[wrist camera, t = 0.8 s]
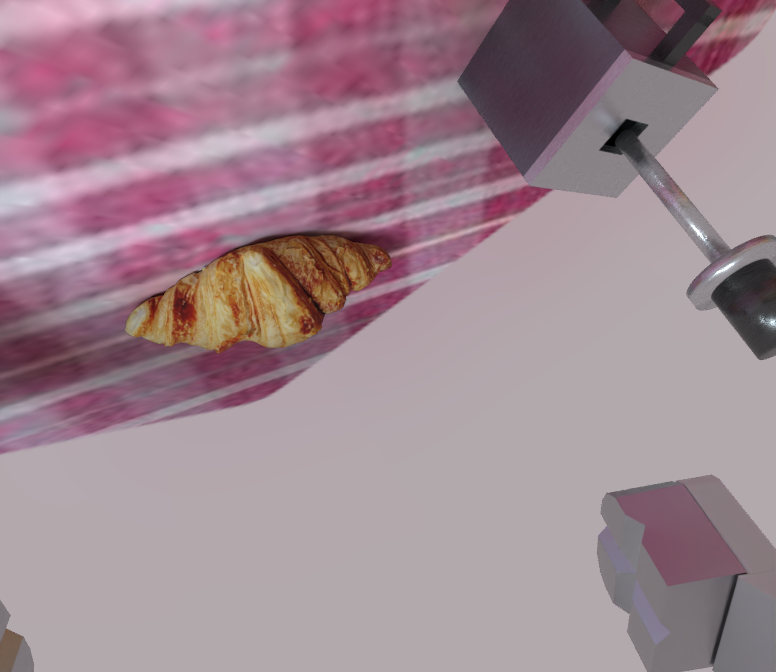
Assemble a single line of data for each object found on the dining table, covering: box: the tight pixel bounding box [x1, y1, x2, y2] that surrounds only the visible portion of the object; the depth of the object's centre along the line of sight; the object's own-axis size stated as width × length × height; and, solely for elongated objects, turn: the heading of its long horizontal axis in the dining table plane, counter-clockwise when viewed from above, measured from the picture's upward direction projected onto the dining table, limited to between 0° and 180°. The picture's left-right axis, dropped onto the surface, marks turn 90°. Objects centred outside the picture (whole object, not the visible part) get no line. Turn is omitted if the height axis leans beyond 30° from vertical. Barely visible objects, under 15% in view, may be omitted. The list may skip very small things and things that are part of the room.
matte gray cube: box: [458, 0, 722, 198], centre depth 43 cm, size 12×9×10 cm
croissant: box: [125, 235, 392, 354], centre depth 54 cm, size 21×10×8 cm
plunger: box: [615, 130, 776, 360], centre depth 38 cm, size 5×5×15 cm
